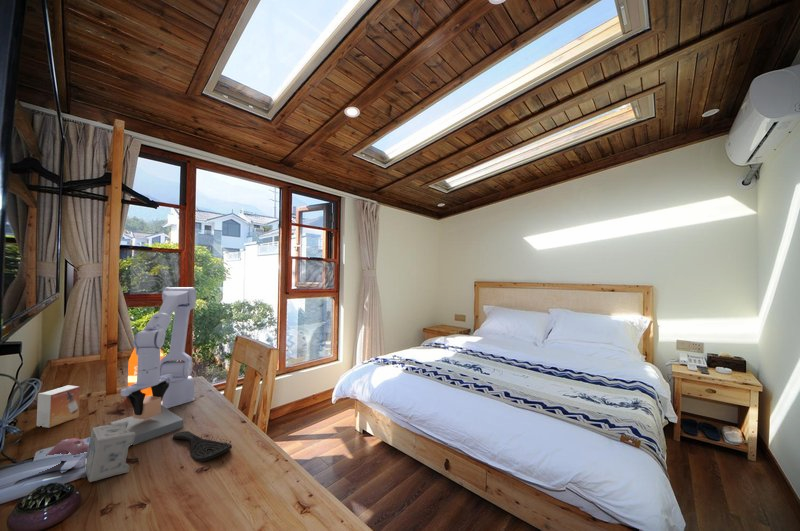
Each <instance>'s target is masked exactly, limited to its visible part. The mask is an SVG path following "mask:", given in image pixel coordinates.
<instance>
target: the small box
mask: <svg viewBox="0 0 800 531" xmlns="http://www.w3.org/2000/svg"><path fill="white" fill-rule="evenodd" d="M80 392H81V387H80V386H77V385H68V384H67V385H64V386H62V387H58V388H55V389H51V390H47V391H44V392H39V393H38V394H37V402H36V403H37V406H36V408H37V410H36V426H37V427H40V426H42V427H41V428H49V429H50V428H53V427H55V426H57V425H60V424H63V423H65V422H69V421H71V420H74V419H77V418H79V416H80Z"/></svg>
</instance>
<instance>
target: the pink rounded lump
mask: <svg viewBox="0 0 800 531" xmlns="http://www.w3.org/2000/svg"><path fill="white" fill-rule="evenodd" d="M88 446H89V444H87V443H85V441H84V440H83V439H80V438H77V437H73V438H67V439H62V440H60V442H58V443H57V444H56V445H55V446H54V447H53V448H52V449H51V450H50V451H49V452H48V453H46V454H45V455H46V456H47V455H54V454H60V453H61V454H68V453H69V452H70V453H71V454H72V455H76V454H80V453H84V452H87V450H88Z"/></svg>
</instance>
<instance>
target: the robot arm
mask: <svg viewBox="0 0 800 531" xmlns="http://www.w3.org/2000/svg"><path fill="white" fill-rule="evenodd" d="M196 290H197V289H196V288H195V287H193V286H191V287H189V286H187V287H186V286H185V287H184V286H183V287H182V286H181V287H180V286H179V287H178V286H177V287H174V286H173V287H170V286H166V287H164V289H163V290H162V293H161V299H162V303H161V306H160V308H159V311H158V312H157V313H154V314H153V315H152V316H151V317H150V319H149V321H148V322H147V324H146V325H145V327H144V328H143V330H141V331H139V332H137V333H136V334H135V336H134V340H133V347H134V348H135V350H136V355H138V362H137V381H136V383H135V384H133V385H131V386H129V387H128V386H127V387H124V388H121V389H120V396H121V397H125V398H127V400H128V401H129V402H130V404H131V407H132V411H133V410H134V413H135V415H141V414H142V411H143V401H144V398H145V395H146V394H145V393H142V392H141V390H144V389H147V388H149V387H151V390H152V395H153V396H156V397H161V407H165V408H166V409H170V408H174V407H177V406H181V405H183V404H187V403H191V402H193V401H195V400H196V399H195V380H194V378H193V376H192V371H193V358H192V356H190V355H189V354H188V353H186V352H185V351H186V344H187V334H188V329H189V328H188V327H189V318H190V314H191V310H193V309H195V307H196V303H197V291H196ZM173 314H174V316H173V323H172V317H171V316H172V315H173ZM171 323H172V330H171V337H170V338H171V340H170V345H169V351H168V354H166V355H164V357H163V358H162V359H161V361H160V354H161V350H162V349H161V348H162V347H163V345H164V344H165V341H166V340H165V338H166V335H167V329H168V328H169V326H170V325H171Z"/></svg>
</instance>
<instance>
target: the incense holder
mask: <svg viewBox="0 0 800 531" xmlns="http://www.w3.org/2000/svg"><path fill="white" fill-rule="evenodd" d="M127 426H128V422H123V423H116V424H111V425H110V424H105V425H99V426H94V427H93V428H92V429H91V432H90V436H89V442H88V450H87V453H86V455H85V458H87V464H86V470H85V473H86V477H87V480H88V482H89V483H92V482H97V481H99V480H103V479H107V478H110V477H114V476H117V475H122V474H128V473H129V471H130V465H129V464H128V463H127V458H128V457H127V456H128V452H129V445H131V444H133V442H134V440H135V432H129V431H128V430H127Z"/></svg>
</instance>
